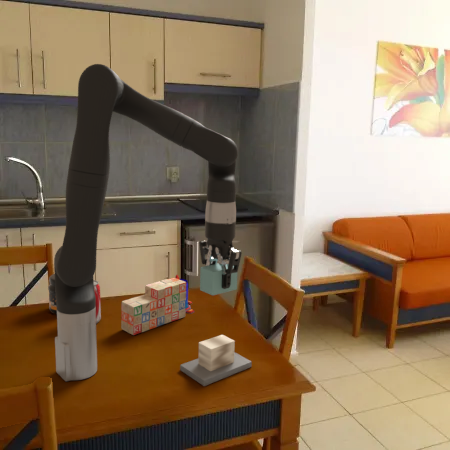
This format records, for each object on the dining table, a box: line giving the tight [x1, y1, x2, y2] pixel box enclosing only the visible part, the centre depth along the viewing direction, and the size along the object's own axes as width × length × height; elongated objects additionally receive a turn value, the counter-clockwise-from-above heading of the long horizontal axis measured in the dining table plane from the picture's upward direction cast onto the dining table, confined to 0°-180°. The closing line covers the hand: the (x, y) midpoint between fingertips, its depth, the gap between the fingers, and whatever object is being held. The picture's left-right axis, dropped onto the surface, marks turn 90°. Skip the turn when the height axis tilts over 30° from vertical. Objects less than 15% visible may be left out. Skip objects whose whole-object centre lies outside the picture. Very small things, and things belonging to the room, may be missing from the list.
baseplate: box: [179, 351, 252, 387], centre depth 125 cm, size 16×10×2 cm, turn 131°
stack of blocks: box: [120, 277, 186, 336], centre depth 151 cm, size 21×6×12 cm, turn 138°
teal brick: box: [199, 263, 238, 297], centre depth 120 cm, size 8×5×6 cm, turn 131°
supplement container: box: [47, 273, 57, 315], centre depth 160 cm, size 10×10×12 cm
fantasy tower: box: [174, 274, 195, 315], centre depth 165 cm, size 12×12×12 cm
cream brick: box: [197, 334, 236, 371], centre depth 124 cm, size 8×5×6 cm, turn 131°
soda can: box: [93, 279, 102, 324], centre depth 151 cm, size 7×7×13 cm
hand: (218, 284), depth 120 cm, fingers closed on teal brick, 5 cm apart
